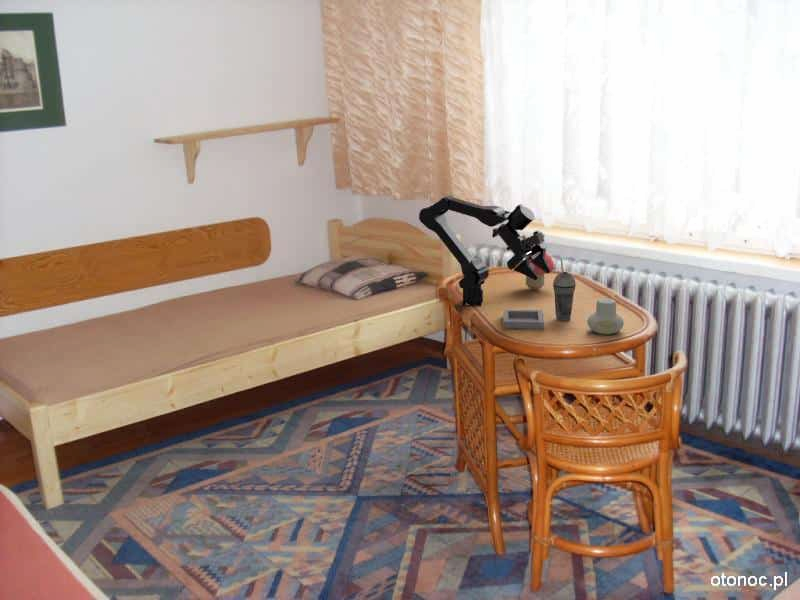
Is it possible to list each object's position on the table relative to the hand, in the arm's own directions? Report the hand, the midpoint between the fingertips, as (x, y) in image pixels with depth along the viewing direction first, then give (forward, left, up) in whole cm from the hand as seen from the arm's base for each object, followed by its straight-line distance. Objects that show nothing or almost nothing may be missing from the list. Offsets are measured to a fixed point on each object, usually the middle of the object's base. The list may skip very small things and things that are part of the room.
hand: (543, 276), depth 286 cm
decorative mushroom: (-1, +29, -14) cm, 32 cm away
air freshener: (+19, -16, -14) cm, 28 cm away
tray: (-6, -9, -13) cm, 17 cm away
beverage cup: (+7, -4, -14) cm, 16 cm away
